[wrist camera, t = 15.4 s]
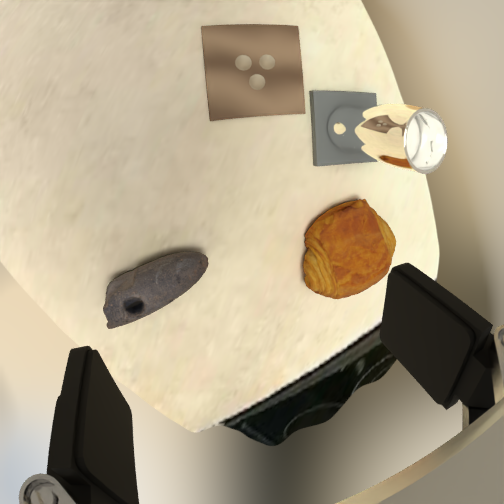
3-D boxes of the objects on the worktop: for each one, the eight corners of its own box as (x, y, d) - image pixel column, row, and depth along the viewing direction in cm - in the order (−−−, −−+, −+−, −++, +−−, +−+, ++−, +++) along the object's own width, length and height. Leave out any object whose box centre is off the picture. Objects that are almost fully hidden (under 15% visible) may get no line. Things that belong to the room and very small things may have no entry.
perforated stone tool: (197, 232, 40) (205, 255, 34) (212, 266, 43) (222, 293, 37) (96, 278, 39) (87, 307, 32) (115, 308, 41) (111, 339, 35)
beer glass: (336, 93, 36) (417, 91, 23) (374, 118, 39) (456, 129, 26) (315, 138, 38) (392, 155, 25) (355, 161, 41) (434, 187, 28)
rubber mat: (309, 91, 36) (313, 90, 36) (371, 93, 39) (376, 93, 38) (313, 165, 41) (316, 166, 40) (373, 160, 43) (377, 161, 42)
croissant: (374, 260, 54) (407, 279, 47) (302, 300, 49) (332, 327, 43) (369, 182, 46) (408, 195, 40) (286, 217, 42) (321, 237, 36)
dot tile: (201, 27, 30) (201, 26, 29) (296, 26, 32) (298, 26, 32) (209, 120, 35) (210, 120, 35) (303, 113, 38) (305, 113, 37)
